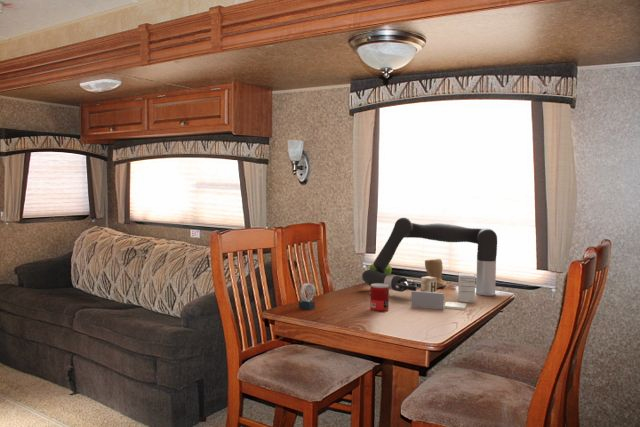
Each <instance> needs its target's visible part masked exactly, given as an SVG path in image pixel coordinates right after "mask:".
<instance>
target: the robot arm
mask: <svg viewBox="0 0 640 427" xmlns="http://www.w3.org/2000/svg"><path fill="white" fill-rule="evenodd" d="M404 238H406V239H408V238H409V239H410V238H413V239H414V238H415V239H419V238H420V239H425V240H429V241H430V240H431V241H437V242H443V243H473V244H476V245H477V252H476V277H475V295H479V296H495V295H496V276H497V275H496V274H497V273H496V272H497V252H498V236H497V234H496V232H495V231H494V230H493V229H491V228H484V227H483V228H478V227H477V228H475V227H473V228H470V227H466V226H461V225H455V224H449V223H437V222H436V223H427V224H420V223H416V222H411V220H410V219H409V218H408V217H400V218H399V219H397V220H396V221H395V223H394V225H393V228H392V230H391V233H390V235H389V237H388V239H387V241H386V243H385V245H383V248H381V251H380V252H379V253H378V255H377V256H376V258H375V259H374V261H373V263H372V264H373V265H374V267H375V271H374V270H370V269H366V270H365V271H364V272H362V275H361V279H362V281H364V283H366V284H367V285H368V286H370V287H371V284H374V283H382V284H388V285H389V291H395V292H400V293H403V292H405V291H407V292H408V291H411V292H412V291H417V289H421V281H416V280H413V281H412V280H407V279H408V278H406V277H405V276H402V275H396V274H391V275H389V274H384V273H385V269H386V268H387V266H388V265H390V262H392V260H393V258H394V256H395V253H396V252H397V251H396V250H397V249H398V247H399V246H400V244H401V242H402V240H403V239H404Z"/></svg>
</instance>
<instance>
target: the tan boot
mask: <svg viewBox="0 0 640 427" xmlns="http://www.w3.org/2000/svg"><path fill="white" fill-rule="evenodd" d="M424 268H425V270H426V273H427V276H429V277H435V278H437V286H436V289H437V288H441V287H444V286H446V284H447V281H446V280H443V279H442V277H443V276H442V274H443V269H444V267H443V260H442V259H441V258H435V259H434V258H433V259H432V258H431V259H425V260H424Z"/></svg>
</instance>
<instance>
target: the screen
mask: <svg viewBox="0 0 640 427" xmlns="http://www.w3.org/2000/svg"><path fill="white" fill-rule="evenodd" d="M410 304H411V305H410V307H411V308H421V309H429V310H431V309H432V310H444V309H445V308H444V305H445V293H444V292H436V293H434V292H422V291H421V290H416V291H411V303H410Z"/></svg>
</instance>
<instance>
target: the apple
mask: <svg viewBox="0 0 640 427" xmlns="http://www.w3.org/2000/svg"><path fill="white" fill-rule="evenodd" d="M369 270H374V271H375V267H374V265H373V263H372V264H371V265H370V266H369ZM392 270H393V267H392V266H391V265H390V264H388V266H387V268H386V269H385V273H384V274H389V275H392Z"/></svg>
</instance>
